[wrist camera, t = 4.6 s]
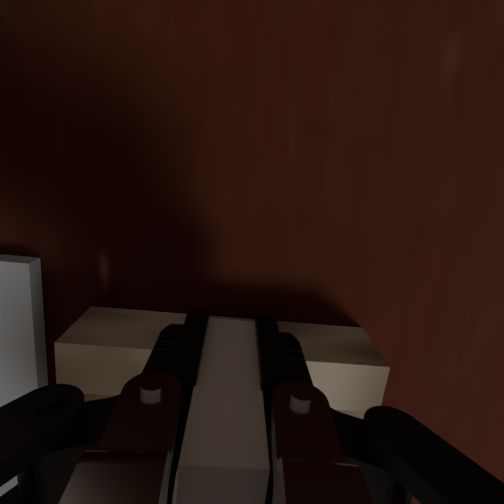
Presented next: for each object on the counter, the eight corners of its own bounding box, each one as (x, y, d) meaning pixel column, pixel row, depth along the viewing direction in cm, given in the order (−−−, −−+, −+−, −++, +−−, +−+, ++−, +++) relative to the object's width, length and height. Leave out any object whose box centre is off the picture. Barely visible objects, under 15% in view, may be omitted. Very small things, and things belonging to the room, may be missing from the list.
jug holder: (362, 327, 15) (390, 367, 12) (320, 525, 19) (335, 593, 16) (90, 306, 15) (54, 342, 12) (95, 516, 18) (67, 585, 15)
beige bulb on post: (270, 495, 18) (299, 815, 9) (155, 489, 17) (71, 816, 9) (302, 289, 15) (391, 475, 6) (163, 277, 14) (47, 457, 6)
